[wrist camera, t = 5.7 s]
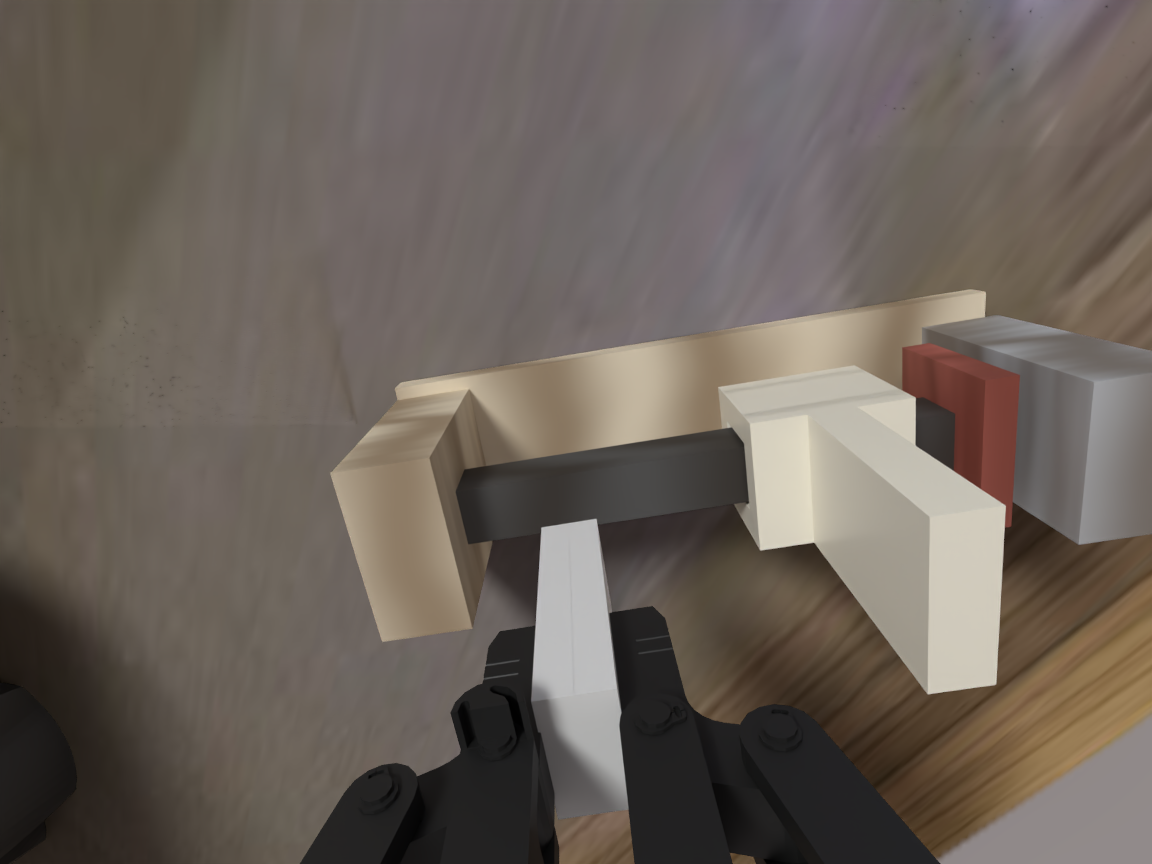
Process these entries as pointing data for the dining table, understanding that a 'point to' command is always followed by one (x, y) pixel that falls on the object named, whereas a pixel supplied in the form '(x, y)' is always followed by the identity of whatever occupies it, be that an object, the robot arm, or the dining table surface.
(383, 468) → the rail
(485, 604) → the dining table surface
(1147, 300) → the dining table surface
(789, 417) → the cream t-shaped block
